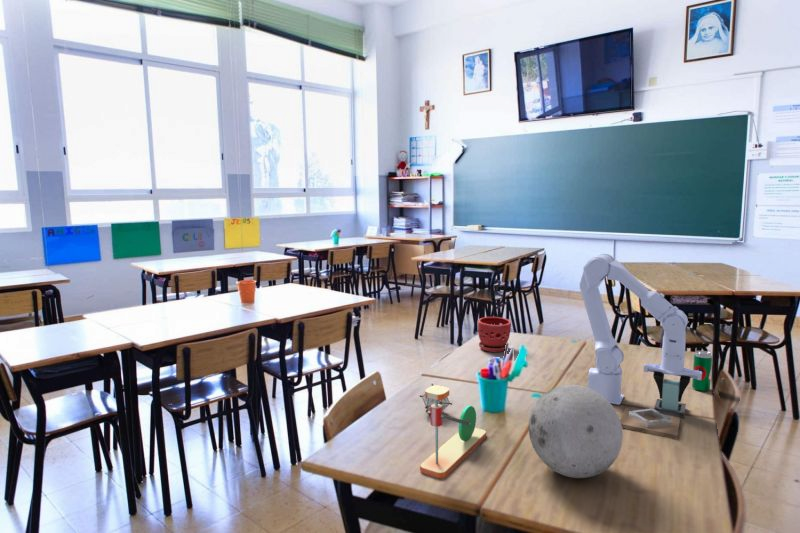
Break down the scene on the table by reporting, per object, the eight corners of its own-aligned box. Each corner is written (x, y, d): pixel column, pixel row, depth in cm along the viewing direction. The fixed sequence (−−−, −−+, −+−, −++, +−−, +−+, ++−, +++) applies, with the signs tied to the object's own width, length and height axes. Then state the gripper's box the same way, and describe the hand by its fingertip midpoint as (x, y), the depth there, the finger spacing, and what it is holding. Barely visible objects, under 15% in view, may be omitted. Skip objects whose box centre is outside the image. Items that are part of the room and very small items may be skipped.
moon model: (639, 477, 116) (644, 391, 113) (580, 508, 106) (584, 414, 103) (567, 442, 133) (569, 366, 130) (509, 466, 122) (510, 384, 119)
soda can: (712, 392, 163) (715, 355, 162) (694, 391, 164) (697, 354, 163) (706, 386, 168) (709, 350, 167) (689, 385, 169) (691, 349, 168)
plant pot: (475, 352, 207) (476, 323, 206) (479, 343, 220) (480, 315, 218) (509, 355, 204) (509, 325, 202) (511, 345, 216) (511, 317, 215)
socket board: (618, 426, 141) (618, 418, 141) (625, 410, 151) (625, 402, 151) (676, 438, 134) (677, 429, 134) (680, 421, 144) (680, 412, 144)
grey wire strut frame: (442, 424, 153) (463, 400, 150) (424, 423, 147) (446, 398, 144) (426, 401, 159) (446, 377, 156) (408, 400, 153) (428, 375, 150)
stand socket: (654, 413, 149) (654, 408, 149) (656, 403, 156) (657, 398, 155) (683, 418, 145) (684, 413, 145) (685, 408, 152) (685, 403, 152)
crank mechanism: (442, 480, 117) (442, 398, 114) (417, 471, 121) (416, 392, 118) (488, 435, 138) (488, 365, 135) (465, 429, 141) (465, 361, 139)
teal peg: (661, 409, 150) (663, 383, 149) (662, 405, 153) (664, 378, 152) (677, 412, 148) (678, 385, 147) (678, 407, 151) (679, 381, 150)
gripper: (643, 353, 149) (640, 399, 150) (702, 361, 141) (698, 409, 143) (646, 346, 154) (644, 390, 156) (703, 354, 147) (699, 400, 149)
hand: (670, 399), depth 150 cm, fingers closed on teal peg, 4 cm apart
